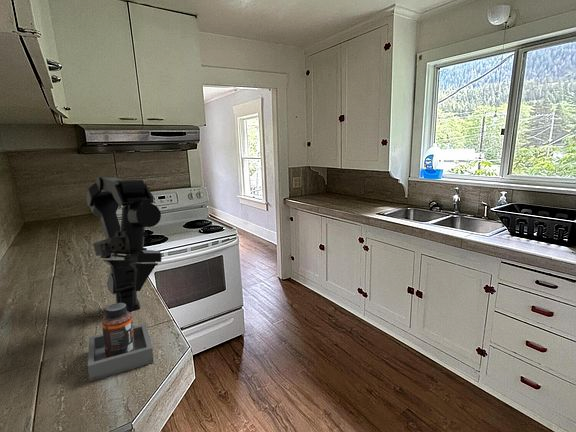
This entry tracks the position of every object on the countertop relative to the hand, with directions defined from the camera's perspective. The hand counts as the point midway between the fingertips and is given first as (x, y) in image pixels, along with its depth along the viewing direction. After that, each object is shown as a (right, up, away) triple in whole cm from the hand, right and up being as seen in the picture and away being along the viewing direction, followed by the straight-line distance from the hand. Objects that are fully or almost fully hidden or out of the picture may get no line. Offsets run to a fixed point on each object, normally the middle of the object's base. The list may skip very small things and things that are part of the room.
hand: (127, 289), depth 79 cm
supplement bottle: (+3, -13, -8) cm, 16 cm away
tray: (+3, -13, -8) cm, 16 cm away
